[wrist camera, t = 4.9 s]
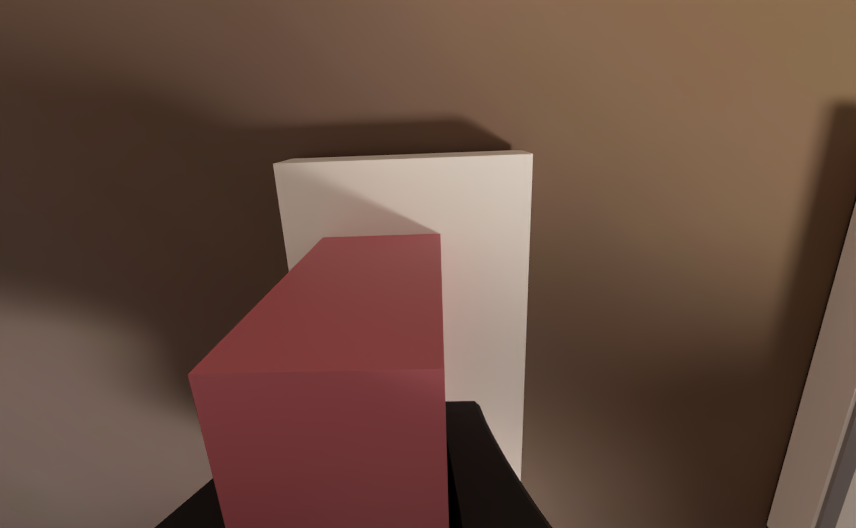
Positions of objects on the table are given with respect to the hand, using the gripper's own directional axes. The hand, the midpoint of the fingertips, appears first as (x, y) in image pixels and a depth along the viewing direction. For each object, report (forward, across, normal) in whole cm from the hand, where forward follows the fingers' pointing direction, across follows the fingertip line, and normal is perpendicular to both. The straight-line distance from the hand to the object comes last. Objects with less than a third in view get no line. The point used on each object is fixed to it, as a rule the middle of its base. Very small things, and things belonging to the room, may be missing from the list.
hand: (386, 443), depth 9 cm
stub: (+3, -1, 0) cm, 3 cm away
